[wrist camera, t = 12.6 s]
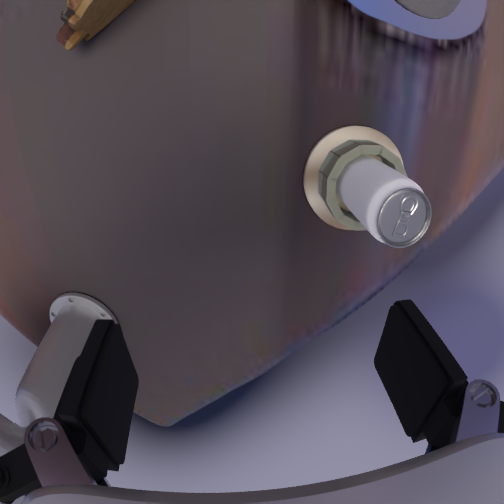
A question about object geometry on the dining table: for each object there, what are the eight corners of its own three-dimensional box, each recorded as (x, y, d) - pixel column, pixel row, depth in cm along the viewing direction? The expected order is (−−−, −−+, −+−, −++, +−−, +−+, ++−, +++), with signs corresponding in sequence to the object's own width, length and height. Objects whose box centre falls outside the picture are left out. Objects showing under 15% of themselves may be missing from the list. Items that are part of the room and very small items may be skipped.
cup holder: (394, 224, 40) (409, 239, 36) (302, 229, 39) (310, 246, 35) (404, 128, 33) (423, 134, 29) (302, 124, 33) (312, 128, 29)
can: (386, 159, 34) (443, 190, 24) (374, 208, 37) (422, 255, 27) (338, 148, 33) (384, 176, 23) (327, 201, 36) (364, 249, 26)
